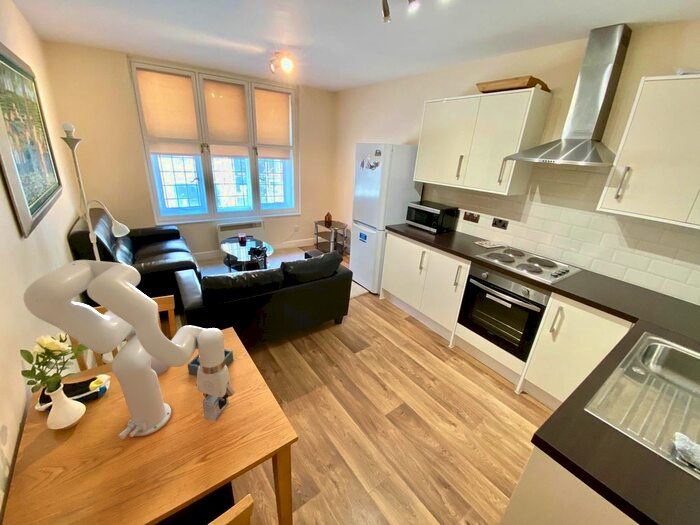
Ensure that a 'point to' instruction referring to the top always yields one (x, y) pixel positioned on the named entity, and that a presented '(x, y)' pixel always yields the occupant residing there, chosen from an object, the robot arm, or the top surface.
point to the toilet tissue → (158, 366)
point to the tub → (195, 363)
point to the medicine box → (212, 407)
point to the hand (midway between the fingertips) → (216, 403)
